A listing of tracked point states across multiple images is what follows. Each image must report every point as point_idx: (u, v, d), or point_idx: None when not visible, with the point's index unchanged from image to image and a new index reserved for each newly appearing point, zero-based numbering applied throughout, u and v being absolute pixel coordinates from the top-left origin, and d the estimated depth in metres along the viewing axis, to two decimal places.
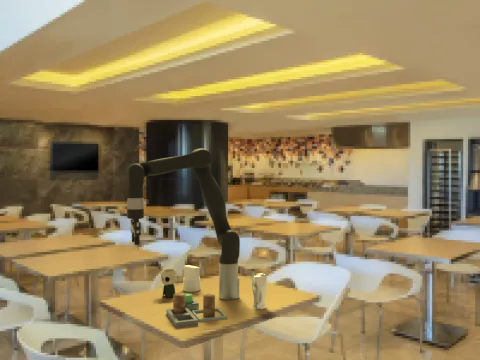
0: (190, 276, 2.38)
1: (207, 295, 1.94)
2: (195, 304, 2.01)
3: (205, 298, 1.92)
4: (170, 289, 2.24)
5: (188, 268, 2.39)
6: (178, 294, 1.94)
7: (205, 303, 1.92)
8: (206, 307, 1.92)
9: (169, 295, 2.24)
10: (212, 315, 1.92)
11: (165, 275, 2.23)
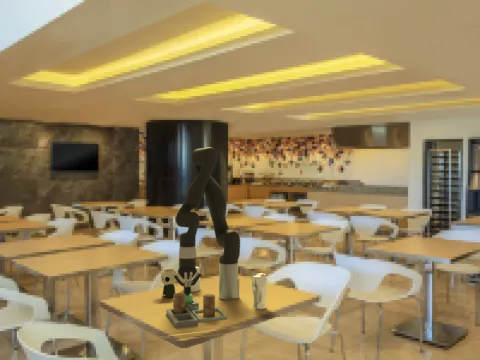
0: None
1: (207, 295, 1.94)
2: (195, 304, 2.01)
3: (205, 298, 1.92)
4: (170, 289, 2.24)
5: None
6: (178, 294, 1.94)
7: (205, 303, 1.92)
8: (206, 307, 1.92)
9: (169, 295, 2.24)
10: (212, 315, 1.92)
11: (165, 275, 2.23)
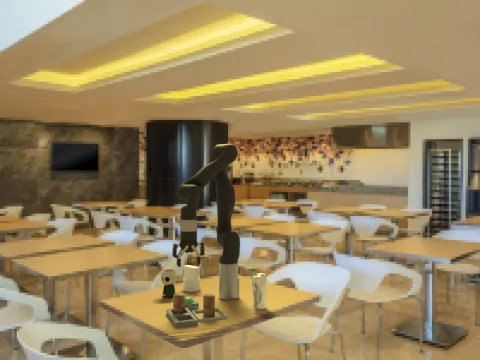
0: (190, 276, 2.38)
1: (207, 295, 1.94)
2: (195, 304, 2.01)
3: (205, 298, 1.92)
4: (170, 289, 2.24)
5: (188, 268, 2.39)
6: (178, 294, 1.94)
7: (205, 303, 1.92)
8: (206, 307, 1.92)
9: (169, 295, 2.24)
10: (212, 315, 1.92)
11: (165, 275, 2.23)
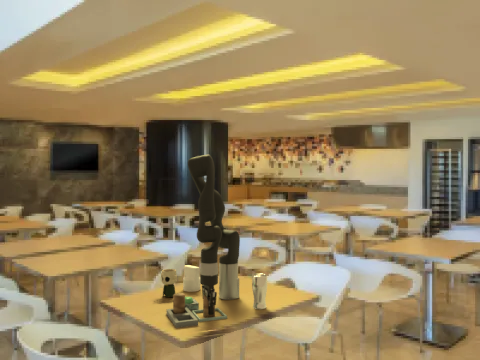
0: (190, 276, 2.38)
1: None
2: (195, 304, 2.01)
3: (205, 298, 1.92)
4: (170, 289, 2.24)
5: (188, 268, 2.39)
6: (178, 294, 1.94)
7: (205, 303, 1.92)
8: (206, 307, 1.92)
9: (169, 295, 2.24)
10: (212, 315, 1.92)
11: (165, 275, 2.23)
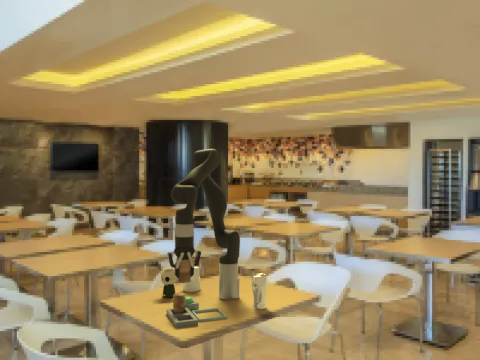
0: None
1: None
2: (195, 304, 2.01)
3: None
4: (170, 289, 2.24)
5: None
6: (178, 294, 1.94)
7: None
8: None
9: (169, 295, 2.24)
10: (179, 279, 1.83)
11: (165, 275, 2.23)
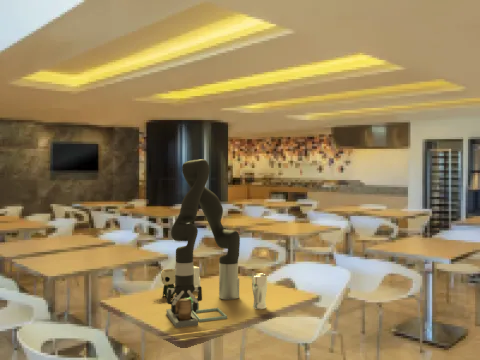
0: None
1: (186, 299, 1.86)
2: None
3: None
4: None
5: None
6: None
7: None
8: None
9: None
10: (179, 320, 1.84)
11: (165, 275, 2.23)
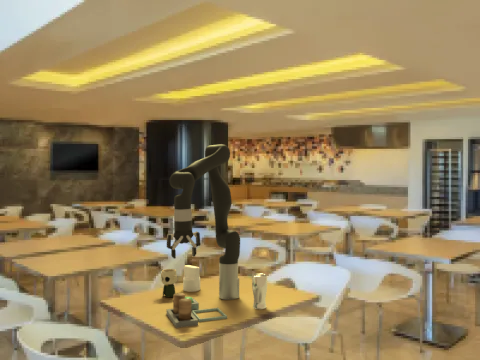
0: (190, 276, 2.38)
1: (186, 299, 1.86)
2: (195, 304, 2.01)
3: None
4: (170, 289, 2.24)
5: (188, 268, 2.39)
6: (178, 294, 1.94)
7: None
8: None
9: (169, 295, 2.24)
10: (179, 320, 1.84)
11: (165, 275, 2.23)
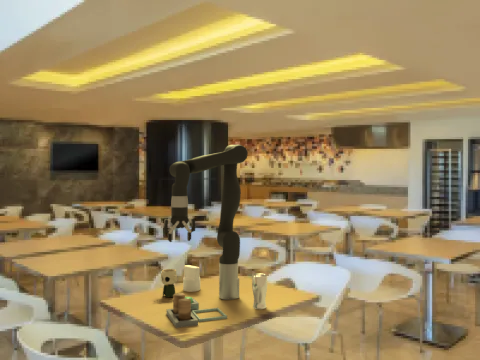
0: (190, 276, 2.38)
1: (185, 299, 1.86)
2: (195, 304, 2.01)
3: None
4: (170, 289, 2.24)
5: (188, 268, 2.39)
6: (178, 294, 1.94)
7: None
8: None
9: (169, 295, 2.24)
10: (179, 320, 1.84)
11: (165, 275, 2.23)
